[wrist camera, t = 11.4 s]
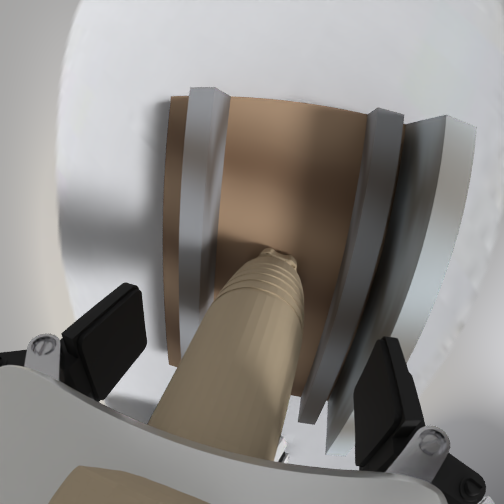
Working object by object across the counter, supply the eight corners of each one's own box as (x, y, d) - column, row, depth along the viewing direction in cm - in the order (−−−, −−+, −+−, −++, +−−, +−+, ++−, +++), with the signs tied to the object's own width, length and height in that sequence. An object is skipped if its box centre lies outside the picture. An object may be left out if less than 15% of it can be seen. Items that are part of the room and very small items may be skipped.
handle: (219, 303, 18) (82, 530, 4) (248, 205, 15) (-15, 466, 1) (293, 330, 17) (234, 588, 3) (335, 236, 15) (359, 602, 1)
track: (182, 100, 15) (117, 82, 9) (419, 132, 13) (476, 127, 7) (176, 353, 22) (139, 408, 16) (344, 389, 20) (345, 456, 14)
